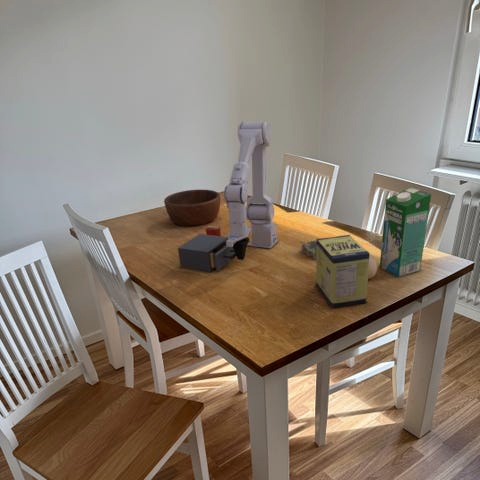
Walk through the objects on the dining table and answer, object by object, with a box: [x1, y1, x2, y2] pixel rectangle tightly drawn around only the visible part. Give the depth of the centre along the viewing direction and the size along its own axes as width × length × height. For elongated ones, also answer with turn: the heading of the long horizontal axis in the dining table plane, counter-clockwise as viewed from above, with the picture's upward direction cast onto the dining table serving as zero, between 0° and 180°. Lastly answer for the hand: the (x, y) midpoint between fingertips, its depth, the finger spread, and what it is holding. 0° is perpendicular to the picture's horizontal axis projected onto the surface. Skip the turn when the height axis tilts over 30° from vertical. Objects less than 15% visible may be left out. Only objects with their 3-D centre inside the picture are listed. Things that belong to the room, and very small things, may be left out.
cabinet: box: [177, 233, 229, 273], centre depth 163 cm, size 12×14×7 cm
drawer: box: [209, 241, 237, 271], centre depth 160 cm, size 15×13×6 cm
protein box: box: [315, 234, 371, 309], centre depth 133 cm, size 10×16×16 cm
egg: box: [368, 254, 378, 280], centre depth 142 cm, size 6×6×8 cm
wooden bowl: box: [163, 189, 221, 227], centre depth 205 cm, size 25×25×10 cm
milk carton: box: [379, 187, 432, 278], centre depth 142 cm, size 9×9×25 cm
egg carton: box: [299, 239, 317, 260], centre depth 163 cm, size 11×8×4 cm
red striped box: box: [205, 225, 222, 236], centre depth 176 cm, size 5×3×8 cm, turn 63°
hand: (240, 259), depth 157 cm, fingers closed, pressing on drawer
